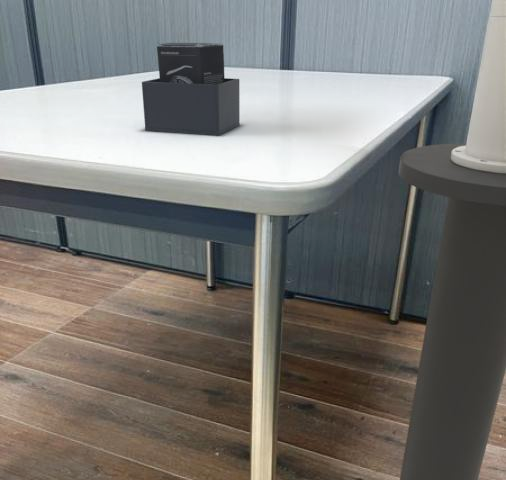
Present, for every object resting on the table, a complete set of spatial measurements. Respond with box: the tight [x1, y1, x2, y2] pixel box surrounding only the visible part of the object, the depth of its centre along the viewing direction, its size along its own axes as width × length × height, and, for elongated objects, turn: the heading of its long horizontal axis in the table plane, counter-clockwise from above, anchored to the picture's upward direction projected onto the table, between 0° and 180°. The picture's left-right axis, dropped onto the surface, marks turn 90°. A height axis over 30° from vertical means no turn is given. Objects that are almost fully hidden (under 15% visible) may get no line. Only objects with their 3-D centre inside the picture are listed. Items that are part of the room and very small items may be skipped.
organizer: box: [141, 77, 241, 136], centre depth 86 cm, size 11×9×6 cm
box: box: [156, 42, 226, 85], centre depth 84 cm, size 8×6×11 cm
